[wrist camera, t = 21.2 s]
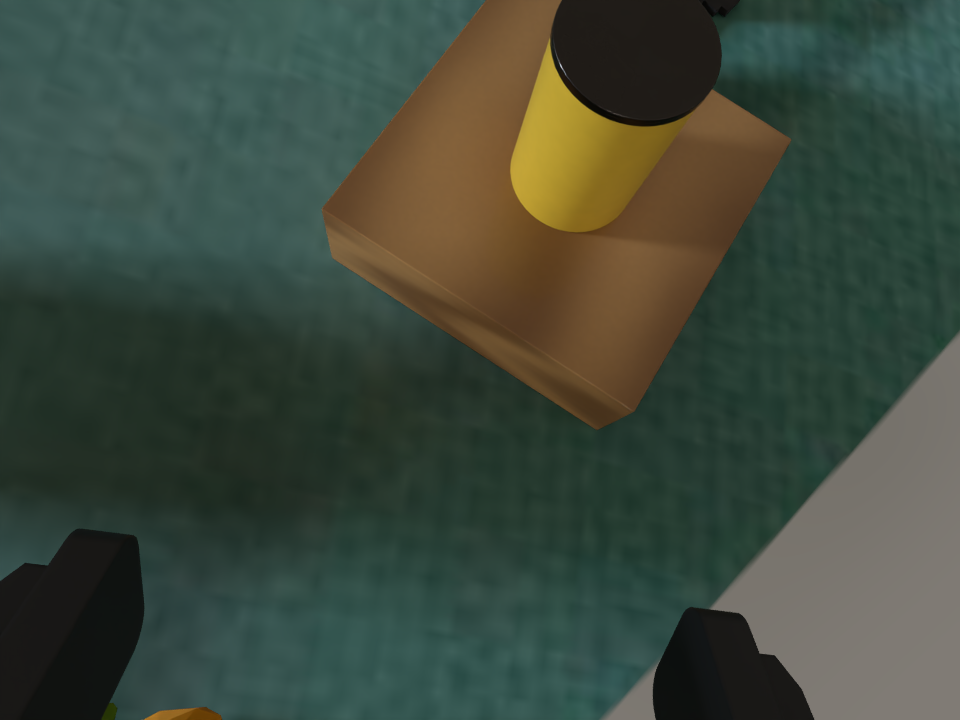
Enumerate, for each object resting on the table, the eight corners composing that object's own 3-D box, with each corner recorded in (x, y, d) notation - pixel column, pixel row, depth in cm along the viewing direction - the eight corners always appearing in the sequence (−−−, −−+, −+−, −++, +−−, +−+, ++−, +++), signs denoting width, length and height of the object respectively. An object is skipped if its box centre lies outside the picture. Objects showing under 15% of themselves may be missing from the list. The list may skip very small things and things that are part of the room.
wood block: (331, 258, 32) (321, 208, 27) (497, 41, 35) (514, -37, 31) (597, 430, 31) (634, 412, 26) (737, 193, 35) (792, 139, 30)
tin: (482, 172, 28) (516, 36, 20) (565, 94, 29) (627, -63, 22) (578, 259, 28) (650, 153, 20) (658, 176, 29) (755, 46, 21)
